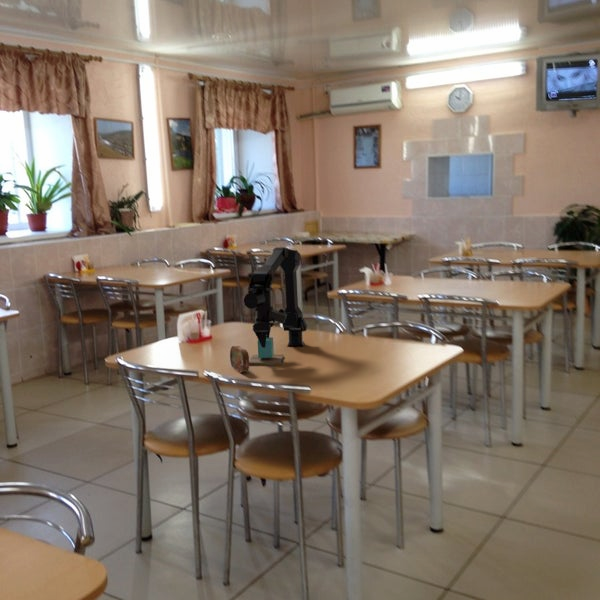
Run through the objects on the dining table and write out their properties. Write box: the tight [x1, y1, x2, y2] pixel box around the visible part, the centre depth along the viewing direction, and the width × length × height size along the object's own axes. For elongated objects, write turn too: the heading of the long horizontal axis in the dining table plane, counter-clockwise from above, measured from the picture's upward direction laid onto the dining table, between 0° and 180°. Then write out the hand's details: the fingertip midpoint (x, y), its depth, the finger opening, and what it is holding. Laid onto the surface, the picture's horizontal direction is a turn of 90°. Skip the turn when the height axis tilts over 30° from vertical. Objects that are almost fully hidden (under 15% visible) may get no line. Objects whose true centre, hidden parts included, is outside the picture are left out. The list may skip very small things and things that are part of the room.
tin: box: [229, 345, 250, 374], centre depth 254 cm, size 15×3×8 cm, turn 23°
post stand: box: [249, 354, 285, 366], centre depth 265 cm, size 12×12×8 cm
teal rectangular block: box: [257, 337, 275, 358], centre depth 265 cm, size 5×5×7 cm
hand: (265, 344), depth 265 cm, fingers open, 9 cm apart
